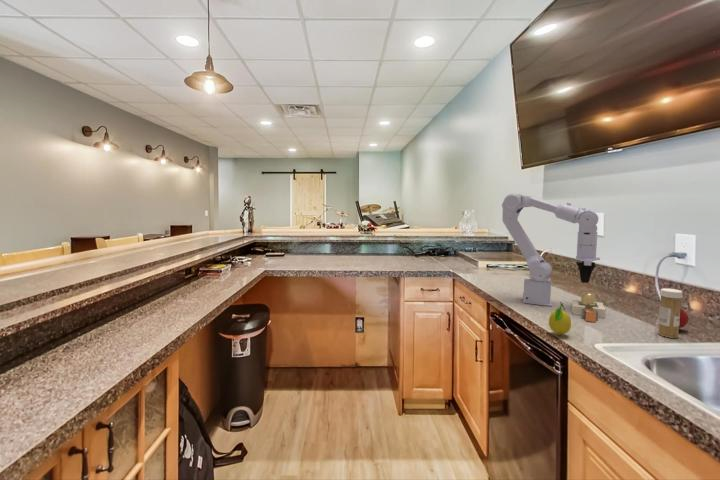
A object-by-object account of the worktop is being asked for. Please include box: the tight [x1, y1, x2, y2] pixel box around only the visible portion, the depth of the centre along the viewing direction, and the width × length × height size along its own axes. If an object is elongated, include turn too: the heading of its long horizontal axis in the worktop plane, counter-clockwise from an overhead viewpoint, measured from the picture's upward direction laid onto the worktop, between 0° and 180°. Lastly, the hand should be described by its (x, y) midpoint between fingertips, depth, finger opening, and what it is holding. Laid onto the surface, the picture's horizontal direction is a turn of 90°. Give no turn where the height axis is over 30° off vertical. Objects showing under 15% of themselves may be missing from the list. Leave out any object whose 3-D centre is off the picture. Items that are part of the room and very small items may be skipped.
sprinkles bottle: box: [657, 287, 683, 339], centre depth 94 cm, size 5×5×13 cm
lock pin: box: [584, 310, 597, 323], centre depth 110 cm, size 3×7×3 cm, turn 150°
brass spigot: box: [580, 291, 597, 310], centre depth 116 cm, size 4×4×7 cm
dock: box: [571, 299, 606, 319], centre depth 116 cm, size 9×9×3 cm
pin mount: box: [581, 309, 599, 321], centre depth 110 cm, size 4×2×3 cm, turn 60°
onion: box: [679, 307, 690, 329], centre depth 99 cm, size 6×6×8 cm
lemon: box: [548, 301, 572, 336], centre depth 96 cm, size 7×6×10 cm
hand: (584, 282), depth 119 cm, fingers closed
